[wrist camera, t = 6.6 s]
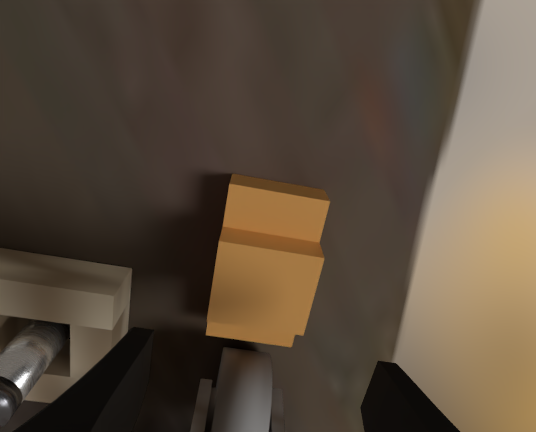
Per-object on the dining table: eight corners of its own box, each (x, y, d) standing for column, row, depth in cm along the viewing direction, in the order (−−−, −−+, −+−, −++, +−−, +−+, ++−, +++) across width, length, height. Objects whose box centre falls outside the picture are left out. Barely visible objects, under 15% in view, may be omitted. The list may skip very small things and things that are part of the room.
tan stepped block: (233, 171, 17) (225, 194, 14) (322, 187, 18) (336, 213, 14) (210, 310, 20) (200, 356, 17) (289, 322, 20) (294, 369, 17)
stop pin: (43, 326, 20) (-42, 426, 14) (42, 295, 19) (-48, 387, 14) (81, 331, 20) (11, 432, 14) (81, 301, 19) (8, 394, 14)
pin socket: (-2, 356, 20) (-35, 392, 18) (-12, 246, 18) (-52, 271, 16) (125, 373, 21) (108, 410, 19) (132, 268, 19) (113, 295, 16)
